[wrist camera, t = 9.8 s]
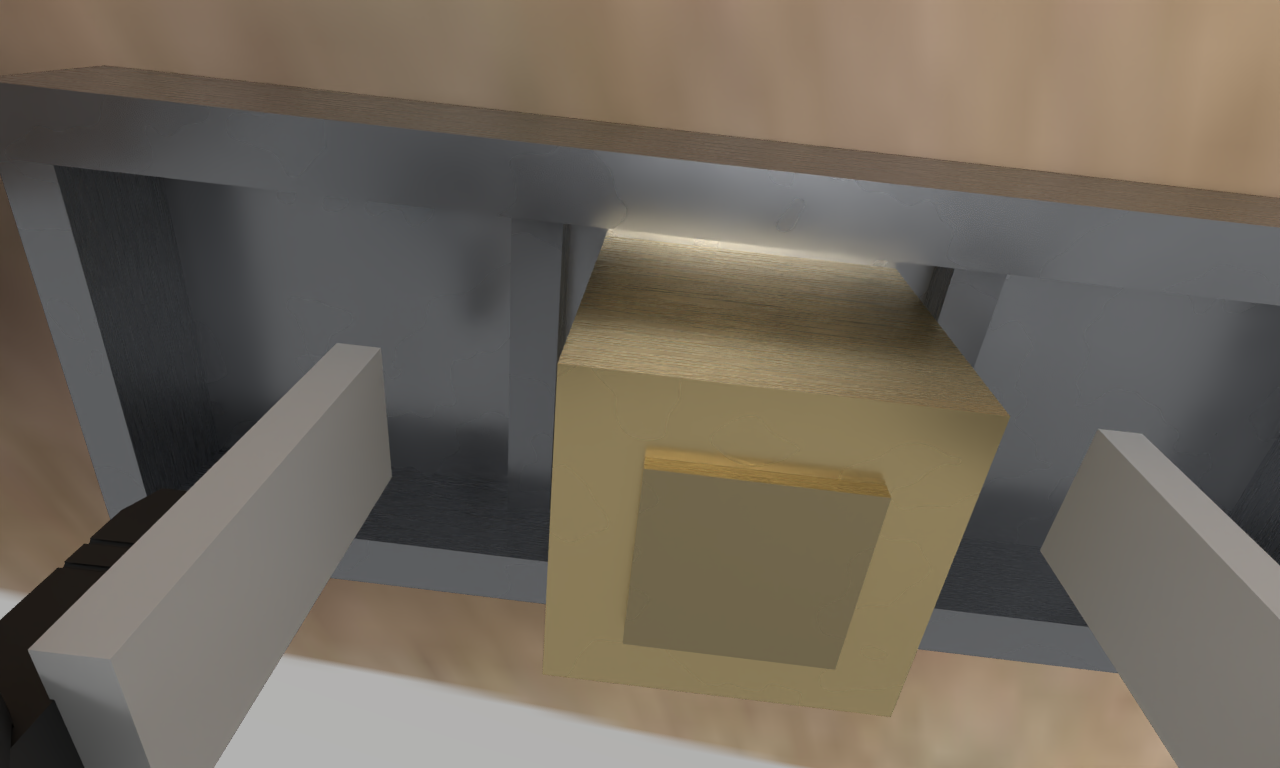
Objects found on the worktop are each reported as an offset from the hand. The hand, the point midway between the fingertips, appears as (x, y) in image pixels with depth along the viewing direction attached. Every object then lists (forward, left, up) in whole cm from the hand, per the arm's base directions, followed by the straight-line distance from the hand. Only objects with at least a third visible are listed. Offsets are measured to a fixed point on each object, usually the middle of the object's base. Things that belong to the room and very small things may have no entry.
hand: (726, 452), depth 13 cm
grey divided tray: (0, 0, -4) cm, 4 cm away
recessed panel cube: (0, 0, -4) cm, 4 cm away
